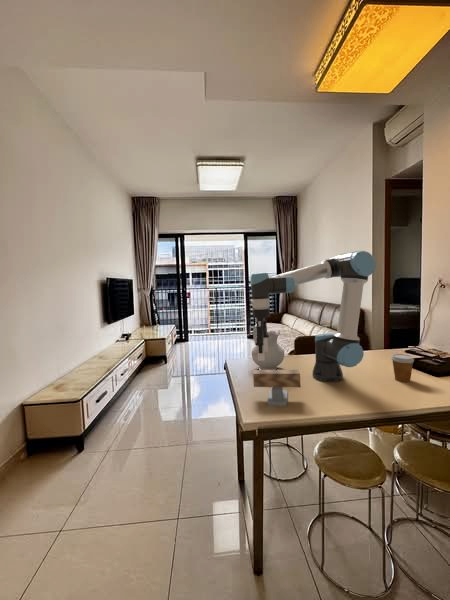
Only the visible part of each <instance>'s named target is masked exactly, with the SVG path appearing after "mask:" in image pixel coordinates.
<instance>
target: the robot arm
mask: <svg viewBox="0 0 450 600" xmlns="http://www.w3.org/2000/svg"><path fill="white" fill-rule="evenodd" d="M375 270H376V260H375V257H373V255H372V254H371V253H370V252H368V251H366V250H356V251H352V252H347V253H346V252H345V253H340V254H337V255H336V256H333V257H329V258H327V259H324V260H321V261H320V263H316V264H313V265H309V266H306V267H303V268H302V267H301V268H298V269H295V270H291V271H286V272H284V273H280V274H276V275H273V276H269V274H268V272H257V273H256V272H255V273H252V274H251V275H250V289H251V290H250V291H251V301H250V303H251V304H252V305H251V307H252V309H251V310H252V317H253V319H257V321H256V326H257V332H256V334H257V336H256V339H257V343H255V342H254V343H255V344H254V345H255V346H256V345H257V350H258V361H265V356H264V352H268V342H267V338H266V337H269V335H268V333H267V332H268V327H267V324H268V323H267V318H269V317H270V316H271V309H270V305H271V304H270V295H273V294H274V295H276V294H289V293H293V292H294V291H295V289H296V286H299V285H302V284H305V283H309V282H312V281H317V280H320V279H323V278H324V279H328V280H329V279H330V278H339V277H340V280H341V281H342V283H343V286H342V292H341V293H342V294H341V298H340V299H341V302H340V307H339V316H338V323H337V329H336V330H337V331H336V332H335V333H331V332H328V333H327V332H326V333H319V334H316V335H315V336H314V337H315V338H314V346H315V347H314V348H315V349H314V350H315V354H314V355H315V363H314V366H313V369H312V377H313V378H314V379H316V380H318V381H322V382H323V381H324V382H327V383H328V382H334V383H335V382H340V381H342V380H343V379H344V373H343V371H342V367H341V366H343V367H347V368H353V367H354V368H355V366H356V367H357V365H358V364H360V363H361V362H362V360H363V358H364V349H363V347H362V346H361V345H360V340H361V338H360V337H359V336H358V327H359V322H360V320H359V319H360V313H361V305H362V300H363V299H362V298H363V291H364V285H365V284H366V283H367V282H368V280H369V276H370V275H373V273H374V272H375Z"/></svg>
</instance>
